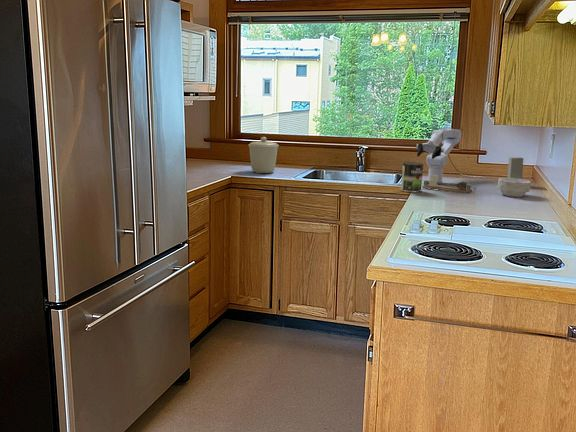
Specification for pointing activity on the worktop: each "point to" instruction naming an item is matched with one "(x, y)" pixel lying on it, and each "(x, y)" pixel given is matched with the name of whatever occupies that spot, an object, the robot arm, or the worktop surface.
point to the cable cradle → (461, 186)
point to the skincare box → (515, 167)
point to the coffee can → (411, 176)
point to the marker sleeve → (433, 180)
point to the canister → (263, 155)
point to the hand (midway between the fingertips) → (425, 156)
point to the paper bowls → (514, 186)
